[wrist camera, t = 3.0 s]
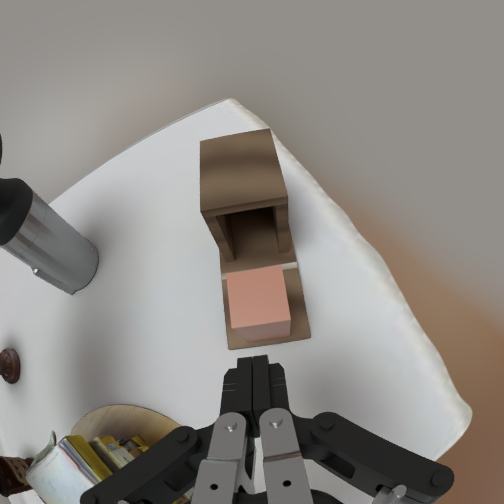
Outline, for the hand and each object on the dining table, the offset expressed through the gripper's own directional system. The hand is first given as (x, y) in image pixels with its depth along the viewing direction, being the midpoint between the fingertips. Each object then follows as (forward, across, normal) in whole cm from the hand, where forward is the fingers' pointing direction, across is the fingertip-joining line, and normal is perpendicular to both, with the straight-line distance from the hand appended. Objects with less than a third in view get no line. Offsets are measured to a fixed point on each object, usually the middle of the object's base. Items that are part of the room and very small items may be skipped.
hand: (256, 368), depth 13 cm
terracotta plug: (+18, 0, -8) cm, 19 cm away
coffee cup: (-1, -47, -30) cm, 55 cm away
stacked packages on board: (+3, -20, -26) cm, 33 cm away
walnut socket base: (+24, 0, -5) cm, 24 cm away
